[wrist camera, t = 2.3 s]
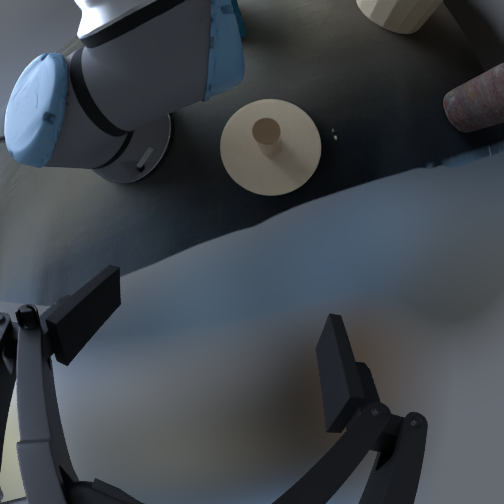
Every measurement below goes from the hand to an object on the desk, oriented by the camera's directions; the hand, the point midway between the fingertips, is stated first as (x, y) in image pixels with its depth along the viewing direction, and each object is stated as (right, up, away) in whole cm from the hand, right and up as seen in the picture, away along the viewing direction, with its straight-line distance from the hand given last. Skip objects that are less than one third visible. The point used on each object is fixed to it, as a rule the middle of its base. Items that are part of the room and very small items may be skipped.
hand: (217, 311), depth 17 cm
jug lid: (+5, +18, +21) cm, 28 cm away
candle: (+36, +26, +16) cm, 47 cm away
